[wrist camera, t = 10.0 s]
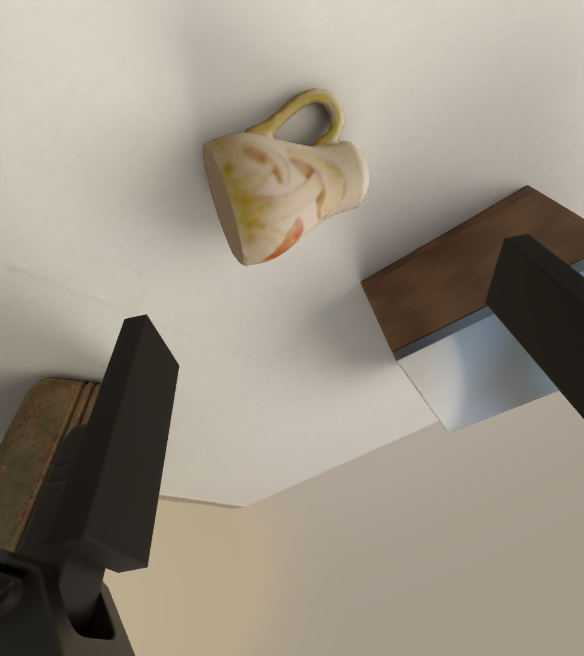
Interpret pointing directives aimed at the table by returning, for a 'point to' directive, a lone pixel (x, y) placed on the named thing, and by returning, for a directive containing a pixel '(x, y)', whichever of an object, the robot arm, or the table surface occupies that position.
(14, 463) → the container
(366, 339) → the table surface
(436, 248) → the storage box
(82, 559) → the robot arm
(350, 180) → the mug
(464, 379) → the blue lid
